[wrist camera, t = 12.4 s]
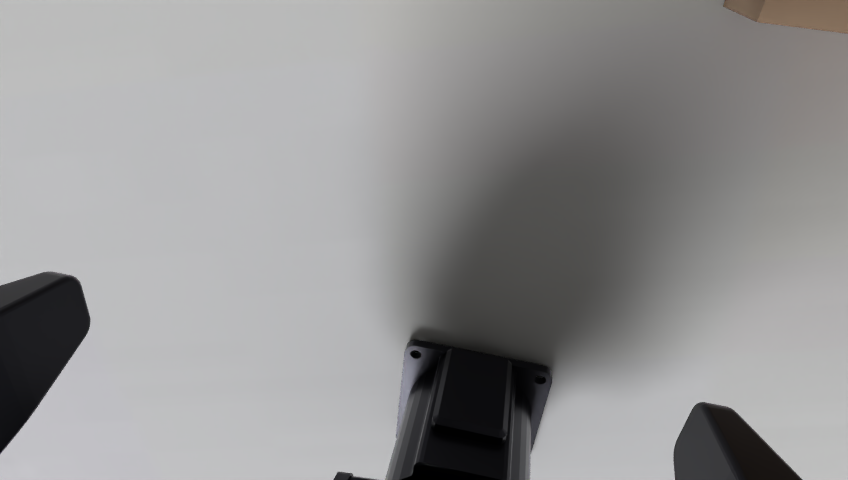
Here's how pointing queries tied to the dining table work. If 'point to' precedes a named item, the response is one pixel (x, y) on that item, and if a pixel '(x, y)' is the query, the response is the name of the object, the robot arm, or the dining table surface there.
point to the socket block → (795, 13)
